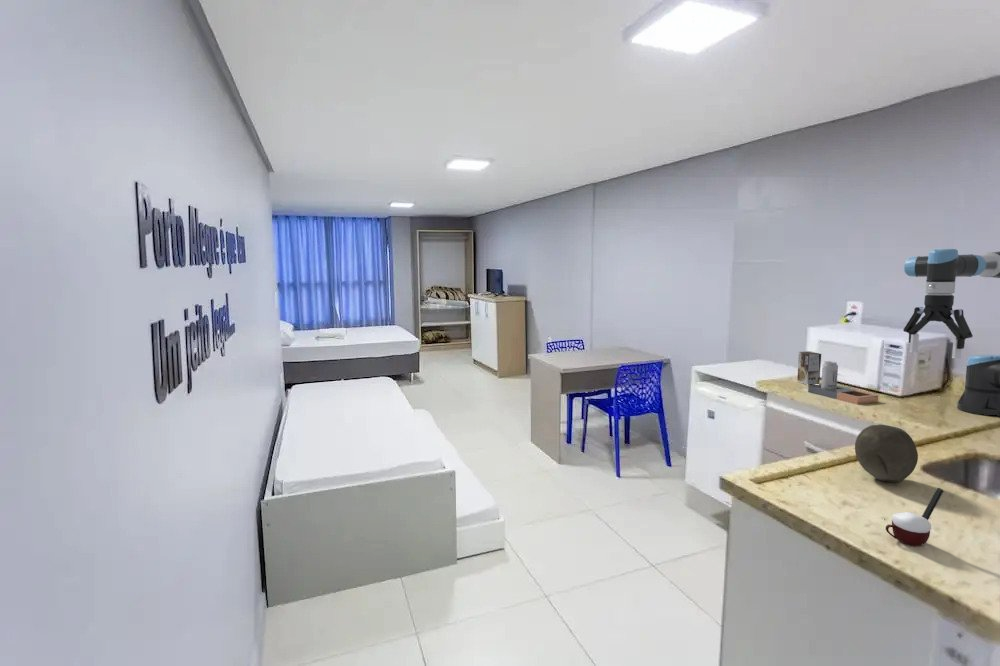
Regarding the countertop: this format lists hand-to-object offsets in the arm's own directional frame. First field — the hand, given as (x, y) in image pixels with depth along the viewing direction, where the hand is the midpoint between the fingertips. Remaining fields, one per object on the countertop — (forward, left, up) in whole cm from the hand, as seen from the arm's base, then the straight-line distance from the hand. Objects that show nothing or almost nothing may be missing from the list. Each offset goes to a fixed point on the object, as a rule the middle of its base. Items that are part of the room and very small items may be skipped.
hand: (934, 355), depth 171 cm
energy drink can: (-18, -53, -28) cm, 62 cm away
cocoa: (+83, +49, -28) cm, 101 cm away
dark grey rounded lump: (+56, +24, -28) cm, 67 cm away
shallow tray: (-18, -47, -28) cm, 57 cm away
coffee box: (-28, -73, -28) cm, 83 cm away
